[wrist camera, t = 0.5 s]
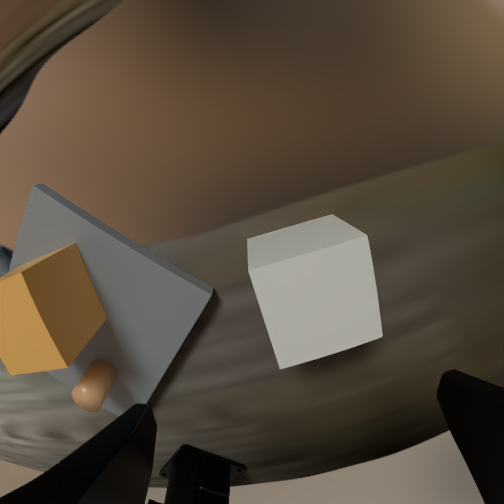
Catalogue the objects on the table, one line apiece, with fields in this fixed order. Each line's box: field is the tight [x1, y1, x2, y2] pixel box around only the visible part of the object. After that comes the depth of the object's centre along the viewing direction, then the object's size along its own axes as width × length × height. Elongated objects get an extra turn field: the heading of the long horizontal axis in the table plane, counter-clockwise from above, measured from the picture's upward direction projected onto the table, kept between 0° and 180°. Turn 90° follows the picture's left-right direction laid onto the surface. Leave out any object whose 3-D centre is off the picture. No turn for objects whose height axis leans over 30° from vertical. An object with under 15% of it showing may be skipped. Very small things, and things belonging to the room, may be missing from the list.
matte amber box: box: [0, 243, 107, 375], centre depth 16 cm, size 5×5×6 cm
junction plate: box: [9, 184, 214, 416], centre depth 18 cm, size 14×14×5 cm
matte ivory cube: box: [247, 214, 383, 369], centre depth 17 cm, size 5×5×6 cm
